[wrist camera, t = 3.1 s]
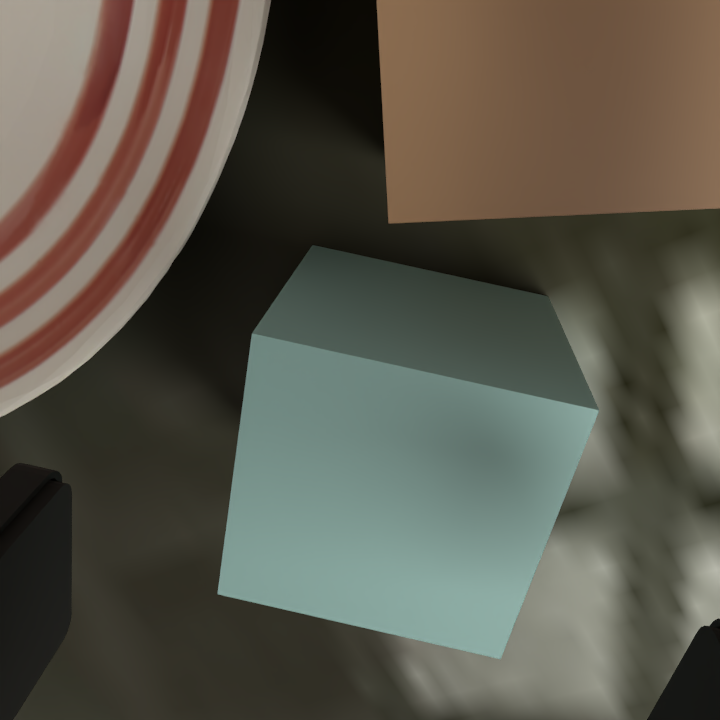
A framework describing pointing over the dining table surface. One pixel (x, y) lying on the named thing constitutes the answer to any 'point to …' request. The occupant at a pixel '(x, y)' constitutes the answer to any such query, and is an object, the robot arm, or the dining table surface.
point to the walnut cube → (549, 107)
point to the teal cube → (402, 450)
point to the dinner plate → (106, 162)
